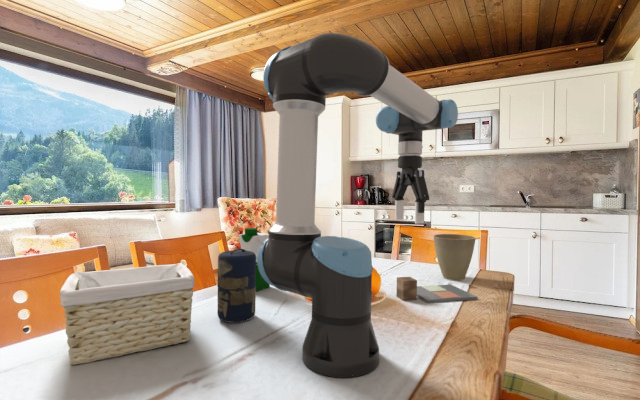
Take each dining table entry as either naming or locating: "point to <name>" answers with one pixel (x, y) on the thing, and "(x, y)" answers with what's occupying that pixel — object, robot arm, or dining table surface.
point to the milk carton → (253, 244)
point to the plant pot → (454, 254)
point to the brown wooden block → (406, 288)
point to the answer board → (443, 293)
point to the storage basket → (126, 310)
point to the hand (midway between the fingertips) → (408, 221)
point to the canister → (236, 285)
